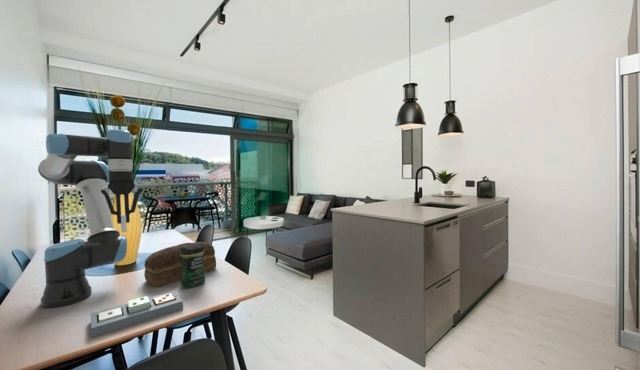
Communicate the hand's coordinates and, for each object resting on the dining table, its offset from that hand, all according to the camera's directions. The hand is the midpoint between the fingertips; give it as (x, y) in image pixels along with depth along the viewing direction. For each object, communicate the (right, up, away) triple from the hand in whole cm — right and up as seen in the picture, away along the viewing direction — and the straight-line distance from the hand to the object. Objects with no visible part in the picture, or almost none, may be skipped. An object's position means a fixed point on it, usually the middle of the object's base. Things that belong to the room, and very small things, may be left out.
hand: (123, 231), depth 103 cm
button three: (+17, -27, -3) cm, 32 cm away
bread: (+7, -27, +30) cm, 42 cm away
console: (+11, -29, -8) cm, 32 cm away
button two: (+11, -26, -8) cm, 30 cm away
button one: (+5, -28, -13) cm, 31 cm away
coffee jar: (+18, -28, +18) cm, 38 cm away
